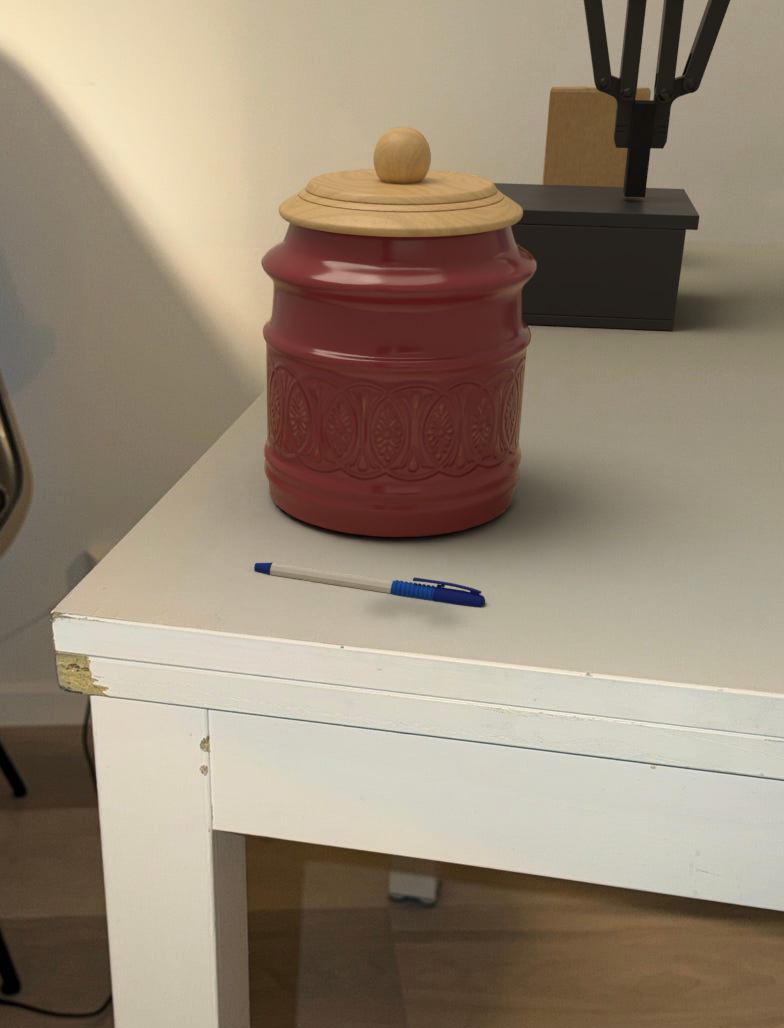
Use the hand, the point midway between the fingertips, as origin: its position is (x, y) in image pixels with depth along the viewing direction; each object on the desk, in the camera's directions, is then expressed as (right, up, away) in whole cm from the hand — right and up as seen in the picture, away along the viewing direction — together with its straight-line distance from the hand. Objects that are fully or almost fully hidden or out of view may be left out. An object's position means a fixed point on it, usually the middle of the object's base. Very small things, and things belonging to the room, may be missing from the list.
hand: (633, 193), depth 99 cm
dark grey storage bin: (-4, -7, +5) cm, 9 cm away
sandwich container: (+1, +3, +25) cm, 26 cm away
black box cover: (-3, -1, +1) cm, 4 cm away
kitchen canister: (-21, -27, -32) cm, 46 cm away
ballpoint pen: (-22, -32, -42) cm, 57 cm away
